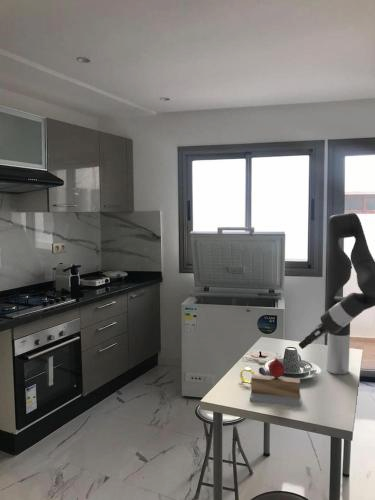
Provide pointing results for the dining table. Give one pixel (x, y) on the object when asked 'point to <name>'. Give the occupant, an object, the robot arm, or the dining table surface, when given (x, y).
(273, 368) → the onion
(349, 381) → the dining table surface
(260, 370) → the bracket
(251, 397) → the ridge base
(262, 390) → the ridge
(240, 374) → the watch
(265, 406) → the dining table surface
